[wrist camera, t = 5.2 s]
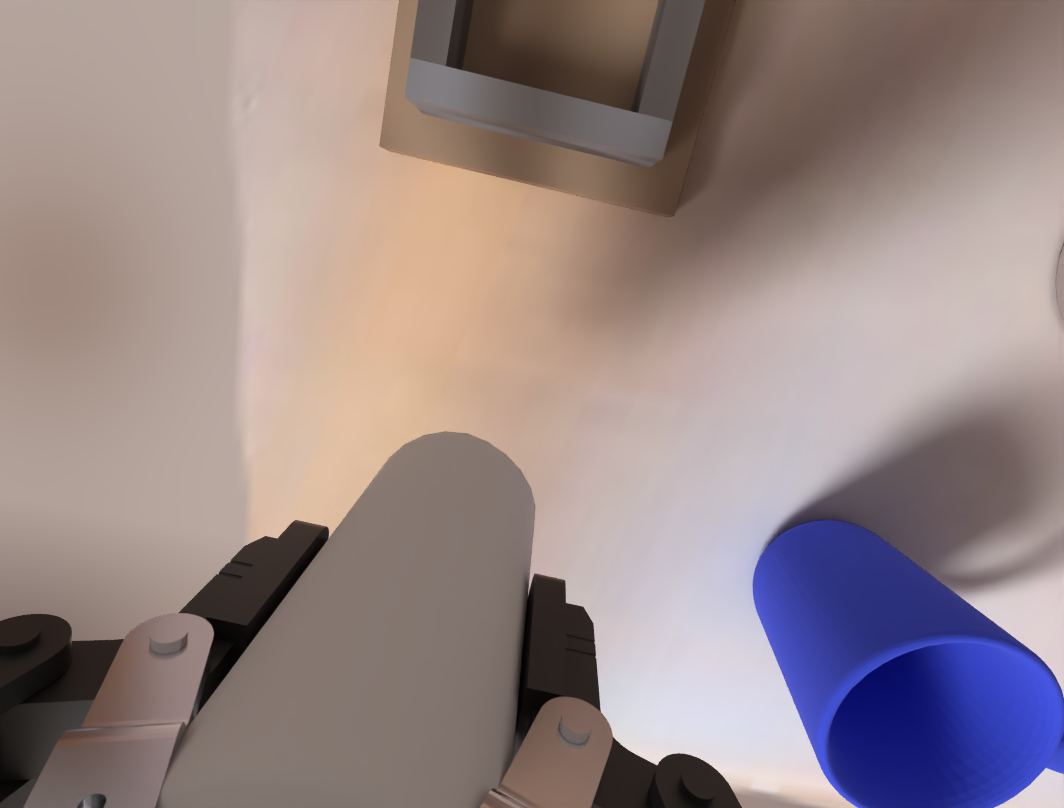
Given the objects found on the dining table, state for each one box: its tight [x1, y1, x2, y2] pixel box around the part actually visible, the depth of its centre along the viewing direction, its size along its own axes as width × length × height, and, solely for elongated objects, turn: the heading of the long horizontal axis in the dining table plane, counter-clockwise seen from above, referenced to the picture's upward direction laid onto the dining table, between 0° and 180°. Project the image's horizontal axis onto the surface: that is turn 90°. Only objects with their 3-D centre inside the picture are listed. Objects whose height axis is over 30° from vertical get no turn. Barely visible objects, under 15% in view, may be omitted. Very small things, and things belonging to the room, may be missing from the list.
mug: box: [753, 520, 1064, 808], centre depth 25 cm, size 8×12×10 cm
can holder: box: [380, 0, 735, 217], centre depth 21 cm, size 12×12×4 cm
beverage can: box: [157, 432, 535, 808], centre depth 12 cm, size 5×5×12 cm
